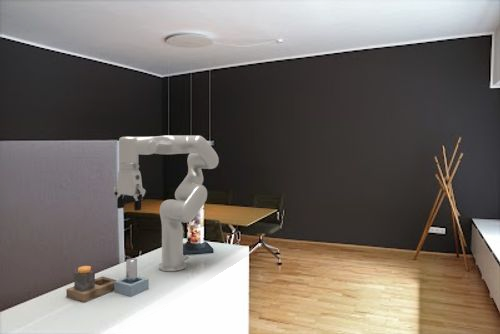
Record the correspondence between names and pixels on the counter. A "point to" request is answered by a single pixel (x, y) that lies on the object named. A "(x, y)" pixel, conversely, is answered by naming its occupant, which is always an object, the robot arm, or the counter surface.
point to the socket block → (89, 287)
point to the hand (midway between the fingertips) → (129, 209)
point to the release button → (84, 269)
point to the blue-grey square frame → (131, 286)
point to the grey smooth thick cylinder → (131, 270)
